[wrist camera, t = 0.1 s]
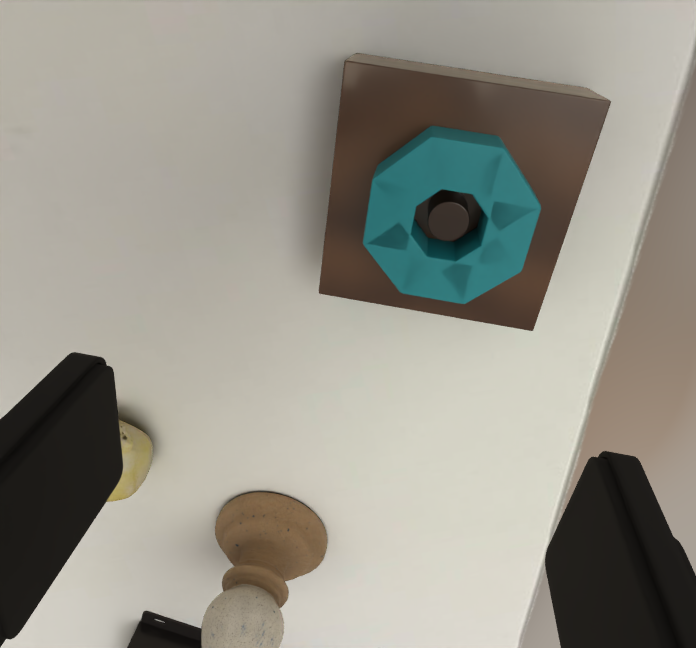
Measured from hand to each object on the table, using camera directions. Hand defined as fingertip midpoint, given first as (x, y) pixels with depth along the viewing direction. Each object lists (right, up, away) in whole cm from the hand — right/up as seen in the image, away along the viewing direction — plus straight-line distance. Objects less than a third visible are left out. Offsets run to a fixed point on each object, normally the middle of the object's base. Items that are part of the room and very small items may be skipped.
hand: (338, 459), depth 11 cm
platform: (+5, +10, +18) cm, 21 cm away
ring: (+5, +8, +15) cm, 17 cm away
